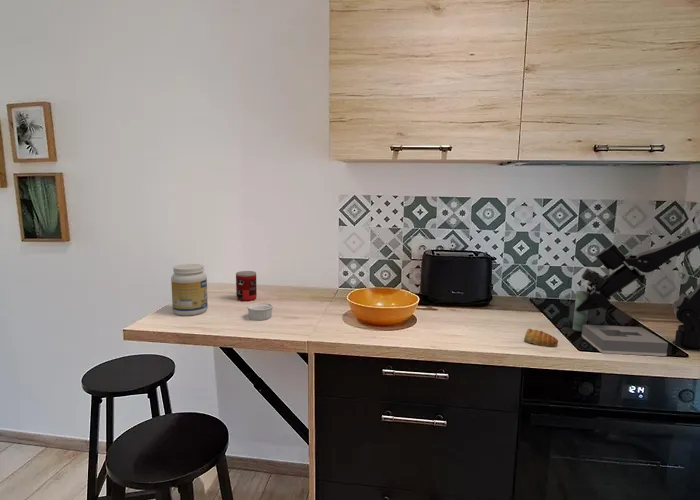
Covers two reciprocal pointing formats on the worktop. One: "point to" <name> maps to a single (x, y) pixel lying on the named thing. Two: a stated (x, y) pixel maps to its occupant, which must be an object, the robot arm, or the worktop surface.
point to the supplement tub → (189, 289)
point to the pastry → (540, 338)
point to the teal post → (581, 316)
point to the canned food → (246, 286)
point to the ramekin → (260, 311)
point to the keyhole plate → (624, 340)
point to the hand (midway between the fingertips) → (576, 308)
